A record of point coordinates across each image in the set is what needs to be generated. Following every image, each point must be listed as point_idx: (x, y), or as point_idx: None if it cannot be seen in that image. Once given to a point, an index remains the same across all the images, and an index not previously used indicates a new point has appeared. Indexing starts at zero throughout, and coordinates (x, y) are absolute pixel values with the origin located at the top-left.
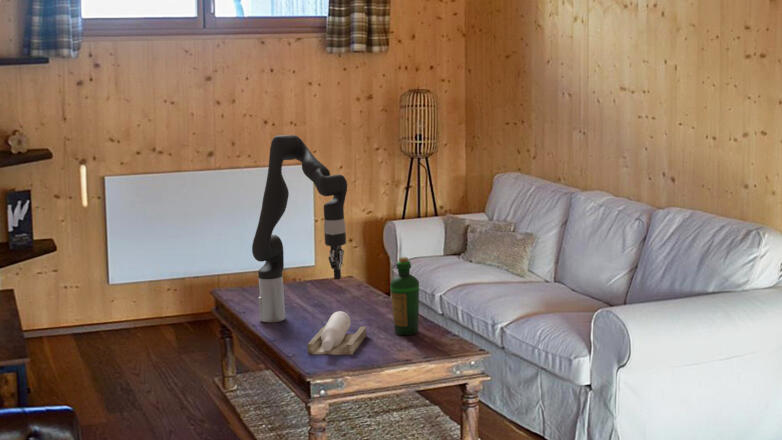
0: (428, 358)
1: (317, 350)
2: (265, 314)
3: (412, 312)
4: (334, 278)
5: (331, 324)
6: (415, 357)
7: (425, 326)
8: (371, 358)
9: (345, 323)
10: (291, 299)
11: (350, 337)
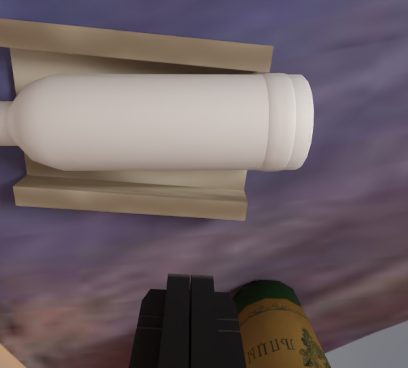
0: (35, 365)
1: (32, 59)
2: None
3: None
4: (168, 276)
5: (78, 132)
6: (38, 341)
7: (318, 337)
8: (7, 246)
9: (190, 169)
10: None
11: None
